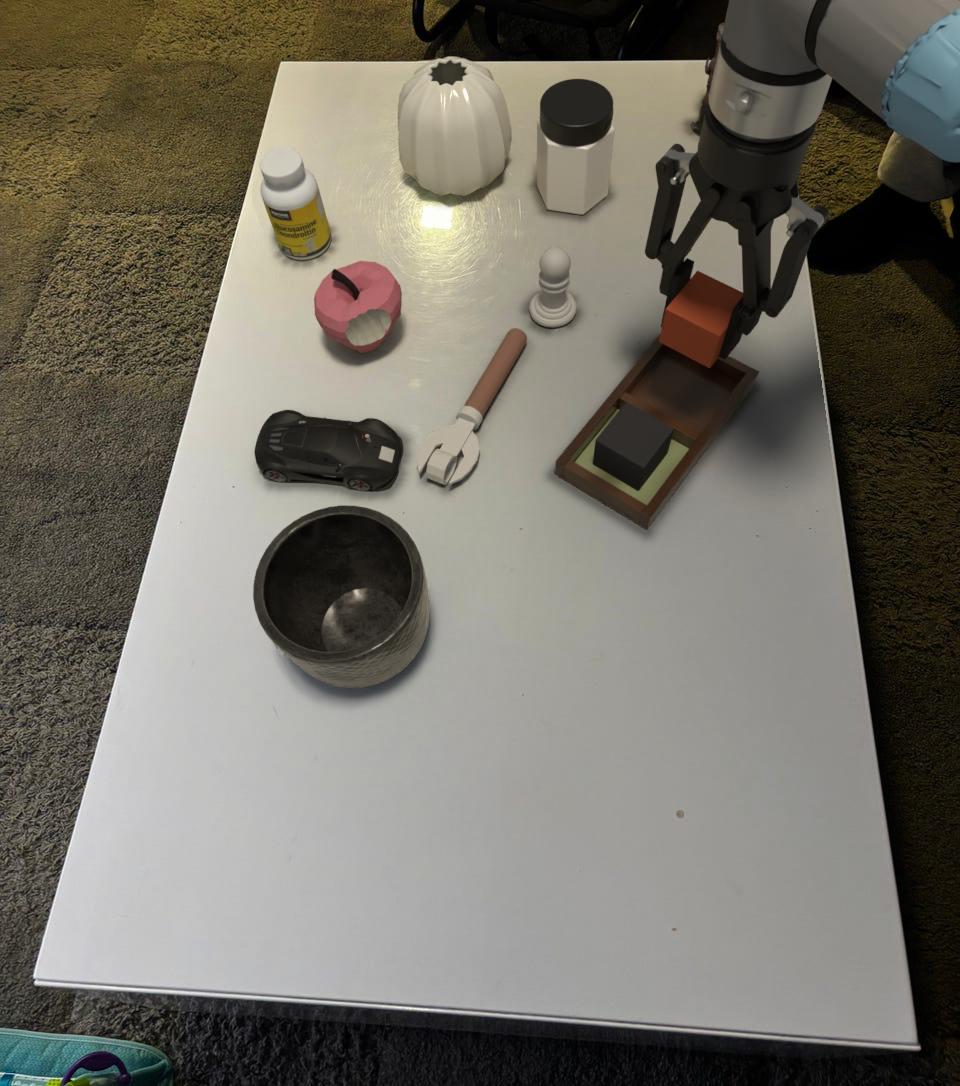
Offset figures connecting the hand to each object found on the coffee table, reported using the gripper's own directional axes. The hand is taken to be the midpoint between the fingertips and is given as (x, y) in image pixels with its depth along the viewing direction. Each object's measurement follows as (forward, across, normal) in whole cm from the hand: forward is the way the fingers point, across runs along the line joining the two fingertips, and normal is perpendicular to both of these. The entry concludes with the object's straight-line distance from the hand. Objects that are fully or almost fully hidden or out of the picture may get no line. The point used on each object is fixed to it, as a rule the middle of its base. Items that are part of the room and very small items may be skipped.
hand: (699, 333), depth 77 cm
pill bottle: (+11, -49, -5) cm, 51 cm away
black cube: (+10, 0, -10) cm, 14 cm away
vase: (+11, -41, +14) cm, 45 cm away
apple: (+11, -33, -12) cm, 37 cm away
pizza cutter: (+11, -17, -14) cm, 25 cm away
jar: (+11, -27, +20) cm, 35 cm away
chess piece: (+11, -18, +2) cm, 22 cm away
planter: (+11, -10, -40) cm, 42 cm away
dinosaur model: (+11, -17, +36) cm, 41 cm away
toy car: (+11, -26, -27) cm, 39 cm away
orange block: (0, 0, 0) cm, 0 cm away
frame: (+11, 0, -4) cm, 12 cm away
